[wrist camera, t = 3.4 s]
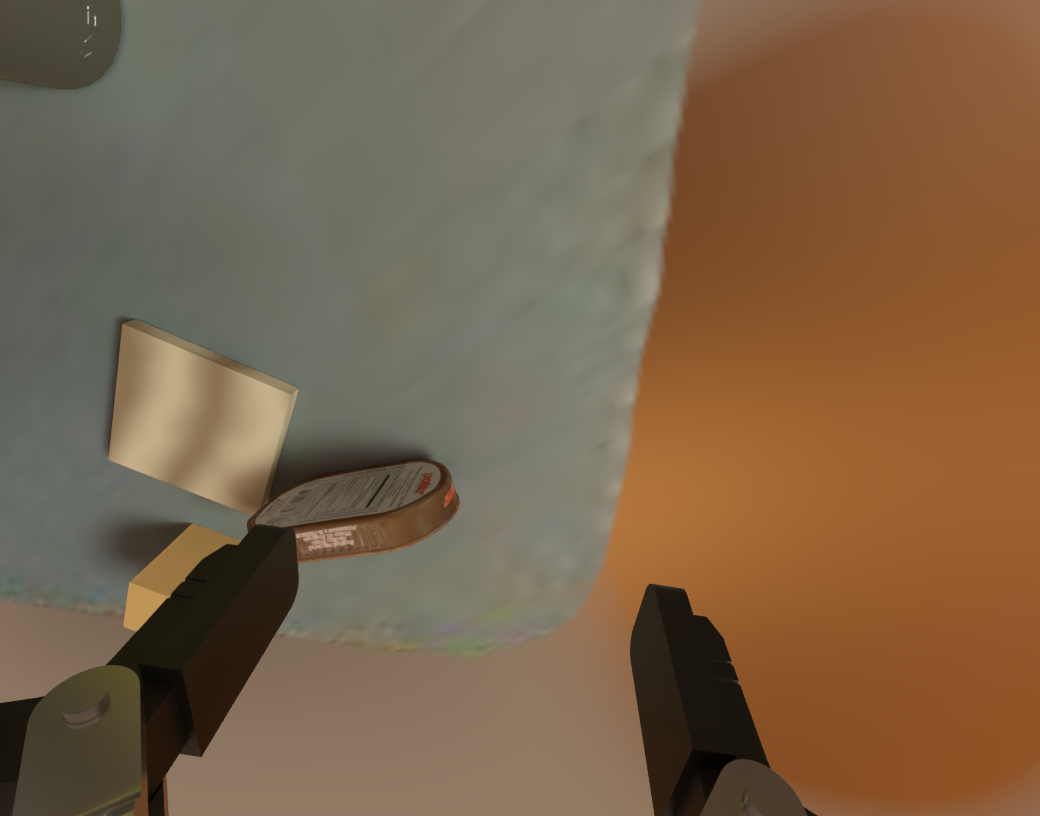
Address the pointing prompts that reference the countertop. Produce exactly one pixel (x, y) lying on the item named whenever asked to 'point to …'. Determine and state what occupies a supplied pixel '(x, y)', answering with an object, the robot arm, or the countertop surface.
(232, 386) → the birch board
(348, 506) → the tin
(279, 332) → the countertop surface
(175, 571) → the ochre block
